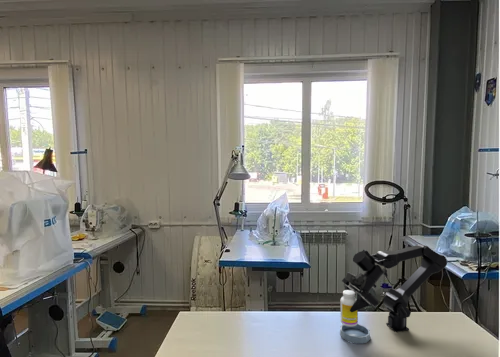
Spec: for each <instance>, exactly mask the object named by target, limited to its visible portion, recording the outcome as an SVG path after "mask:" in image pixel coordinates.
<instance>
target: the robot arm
mask: <svg viewBox="0 0 500 357" xmlns="http://www.w3.org/2000/svg"><path fill="white" fill-rule="evenodd" d="M419 257H421V258H422V259H421V263H420V264H421V265H420V266H419V268H418V267H417V269H416V270H415V272H413V273H412V274H411V276H409V278H407V280H406V281H405V282H404V283H403V284H401V286H399V288H397V289H395V288H393V287H392V288H390V289H389V290H388V291H387V292H386V293H385V294H384V297H383V305H384V306H385V308H386V310H387V311H389V312H388V316H387V322H386V324H385V325H386V326H388V327H389V328H390V329H391V330H393V331H394V332H405V331H409V330H410V328H409V327H408V326H407V320H408V319H407V318H410V316H411V313H412V312H411V310H410V309H408V308H407V307H408V304H409V300H410V298H411V296H412V295H413V294H414V293H415V292H416V291H417V290H418V289H419V288H420V287H421V286H422V285H423V284H424V282H426V280H427V279H428V278H430V276H432V275H433V274H437V273H439V272H441V271H442V270H443V269H445V267H447V265H448V261H447V260H448V259H447V258H446V256H445V255H442V254H439V253H437V252H436V251H435V250H433V249H432V248H430V247H429V246H427V245H425V244H421V243H418V244H415V245H413V246H409V247H404V248H400V249H398V250H397V249H396V250H379V251H377V252H376V253H374V254H370V252H369V251H367V250H366V249H362V250H361V251H358V252H357V253H355V254H354V255H353V258H352V261H353V263H354V264H355V265H356V266H358V268H359V269H361V271H363V272H364V273H359V274H354V273H352V272H349V271H347V273H346V275H345V277H343V279H342V280H341V282H342V283H343V287H344V290H352V291H354V292H355V296H357V297H356V299H357V300H356V302H355V303H354V304H353V306H352V307H351V309H350V312H354V311H357V310H358V311H359V310H360V309H364V308H368V307H374V308H377V306H378V305H379V300H378V298H377V297H375V296H374V295H373V294H372V293H371V292H370V291H371V290H372V289H373V288H377V285H376V284H377V282H378V281H379V280H380V279H381V277H382V276H384V277H386V278H388V270H387V269H392V268H395V267H397V266H398V264H400V263H401V262H404V261H408V260H411V259H412V260H413V259H415V258H419ZM382 267H383V268H382ZM356 293H357V294H356Z"/></svg>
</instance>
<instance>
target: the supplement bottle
mask: <svg viewBox="0 0 500 357" xmlns="http://www.w3.org/2000/svg"><path fill="white" fill-rule="evenodd" d="M355 294H356V291H355V292H354V291H352V290H345V289H344V290H343V291H342V296H341V298H340V299H339V300H340V323H341V325H345V326H349V327H353V326H356V325H357V324H359V322H358V321H359V316H358V315H359V314H358V312H359V310H357V311H354V312H350V309H351V307H352V306H353V304H354V303H355V302H356V300H357V297H356V295H355Z"/></svg>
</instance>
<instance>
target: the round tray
mask: <svg viewBox="0 0 500 357" xmlns="http://www.w3.org/2000/svg"><path fill="white" fill-rule="evenodd" d="M339 332H340V333H339V335H340V336H341V339H342V340H345V341H346V342H349V343H351V344H357V345H358V344H367V343H369V341H370V340H371V339H370V338H371V332H370V329H369V328H368V327H367V326H365V325H363V324H360V323H358V324H357V325H356V326H353V327H349V326H345V325H343V324H341V325H340V330H339Z"/></svg>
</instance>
